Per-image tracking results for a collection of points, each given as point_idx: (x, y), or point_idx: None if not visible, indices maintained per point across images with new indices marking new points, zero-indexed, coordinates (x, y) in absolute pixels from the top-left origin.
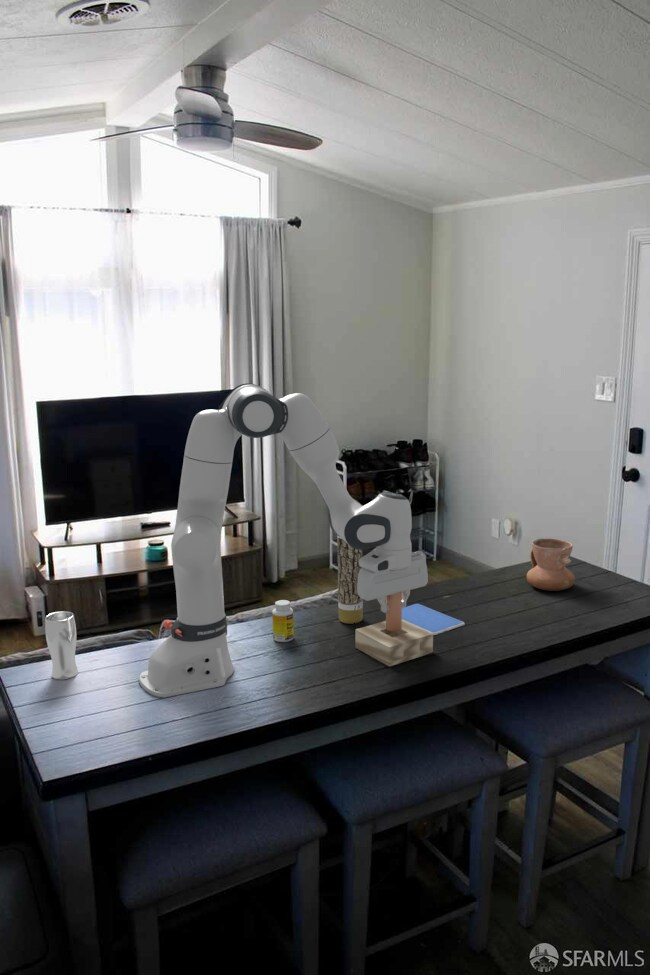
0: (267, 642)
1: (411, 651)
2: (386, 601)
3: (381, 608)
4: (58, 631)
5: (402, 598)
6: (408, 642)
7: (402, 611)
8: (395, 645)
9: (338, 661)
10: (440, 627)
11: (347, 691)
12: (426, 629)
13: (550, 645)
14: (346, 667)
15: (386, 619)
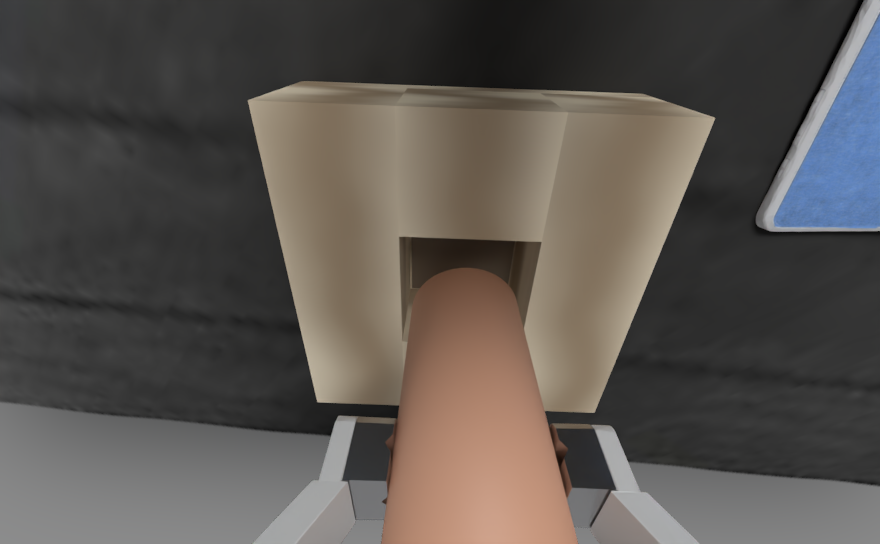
0: None
1: None
2: (386, 519)
3: (332, 443)
4: None
5: (614, 526)
6: None
7: None
8: (355, 402)
9: (144, 172)
10: (875, 198)
11: (119, 374)
12: (802, 169)
13: (855, 482)
14: (166, 245)
15: (407, 351)
